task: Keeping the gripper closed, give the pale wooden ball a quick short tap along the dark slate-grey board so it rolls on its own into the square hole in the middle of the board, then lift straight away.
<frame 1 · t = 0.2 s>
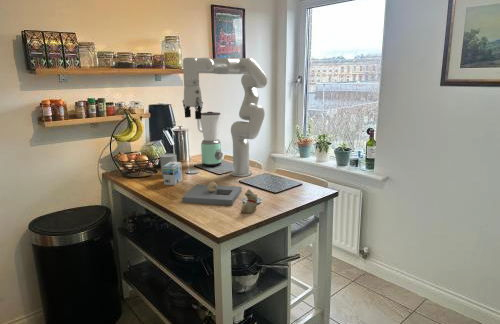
hand: (193, 118, 176), 37 cm above the table, tool pointing down, fingers open, 9 cm apart
chocolate bunny: (249, 211, 152), on the table
mint green blender: (211, 164, 231), on the table
light bulb box: (173, 182, 194), on the table
ball: (211, 186, 169), point 5 cm above the table, touching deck
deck: (213, 196, 170), on the table
grey piece: (169, 175, 208), on the table
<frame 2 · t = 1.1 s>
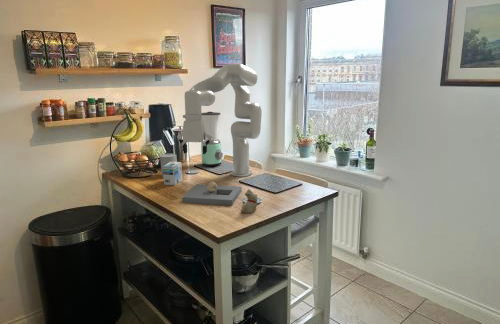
hand: (195, 153, 167), 21 cm above the table, tool pointing down, fingers open, 9 cm apart
nothing on the table moved.
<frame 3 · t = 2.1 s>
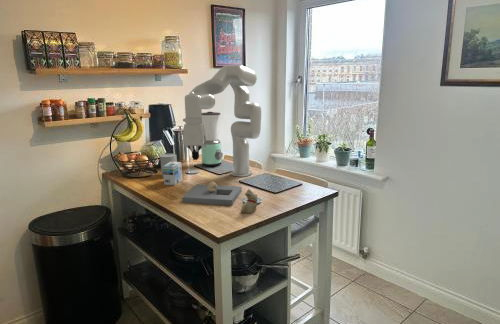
hand: (195, 159, 167), 19 cm above the table, tool pointing down, fingers closed
nothing on the table moved.
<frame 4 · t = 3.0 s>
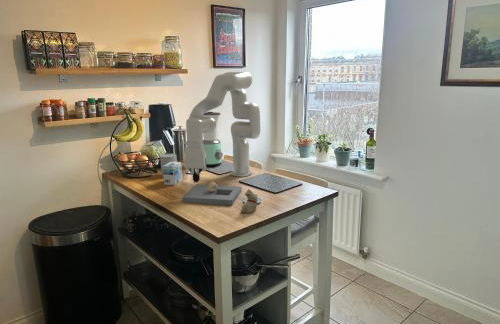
hand: (196, 181, 169), 7 cm above the table, tool pointing down, fingers closed
nothing on the table moved.
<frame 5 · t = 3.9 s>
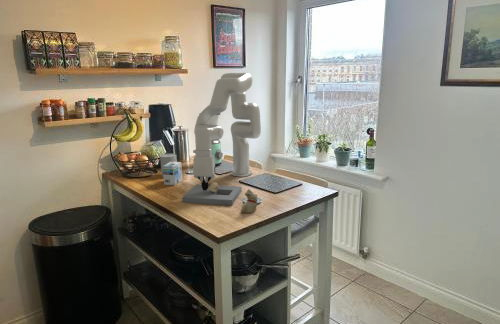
hand: (205, 189, 170), 4 cm above the table, tool pointing down, fingers closed
ball: (213, 187, 169), point 5 cm above the table, tilted 14°, touching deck, gripper
everything else where it was.
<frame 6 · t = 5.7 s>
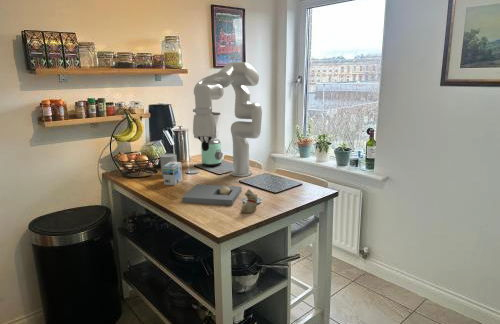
hand: (205, 150, 165), 23 cm above the table, tool pointing down, fingers closed
ball: (225, 191, 170), point 2 cm above the table, tilted 157°
everything else where it was.
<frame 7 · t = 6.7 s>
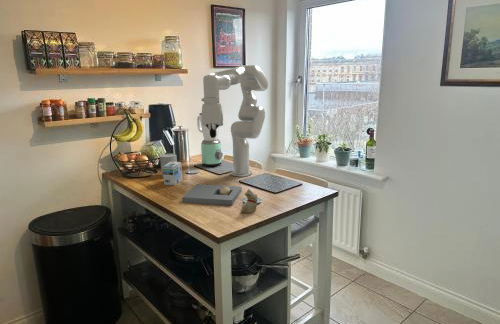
hand: (213, 137, 176), 27 cm above the table, tool pointing down, fingers closed
nothing on the table moved.
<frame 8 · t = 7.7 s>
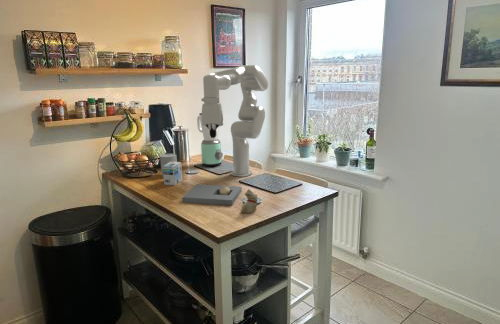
hand: (213, 137, 176), 27 cm above the table, tool pointing down, fingers closed
nothing on the table moved.
at the end: ball 1.4 cm from the target spot on the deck, point 2.5 cm above the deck's base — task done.
